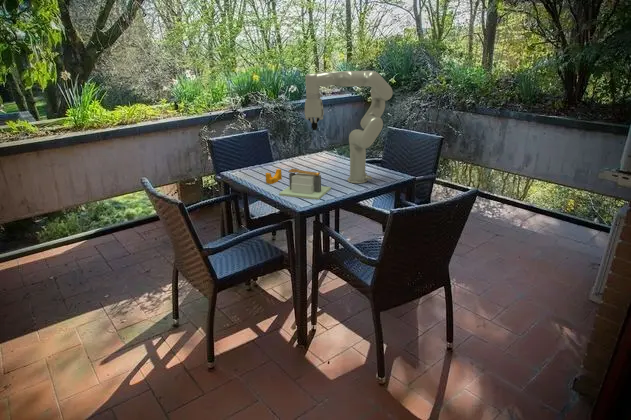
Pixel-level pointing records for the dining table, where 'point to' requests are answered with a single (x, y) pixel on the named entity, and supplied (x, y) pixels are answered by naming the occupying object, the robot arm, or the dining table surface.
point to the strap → (304, 172)
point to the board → (309, 196)
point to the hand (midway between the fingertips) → (314, 129)
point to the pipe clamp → (273, 179)
